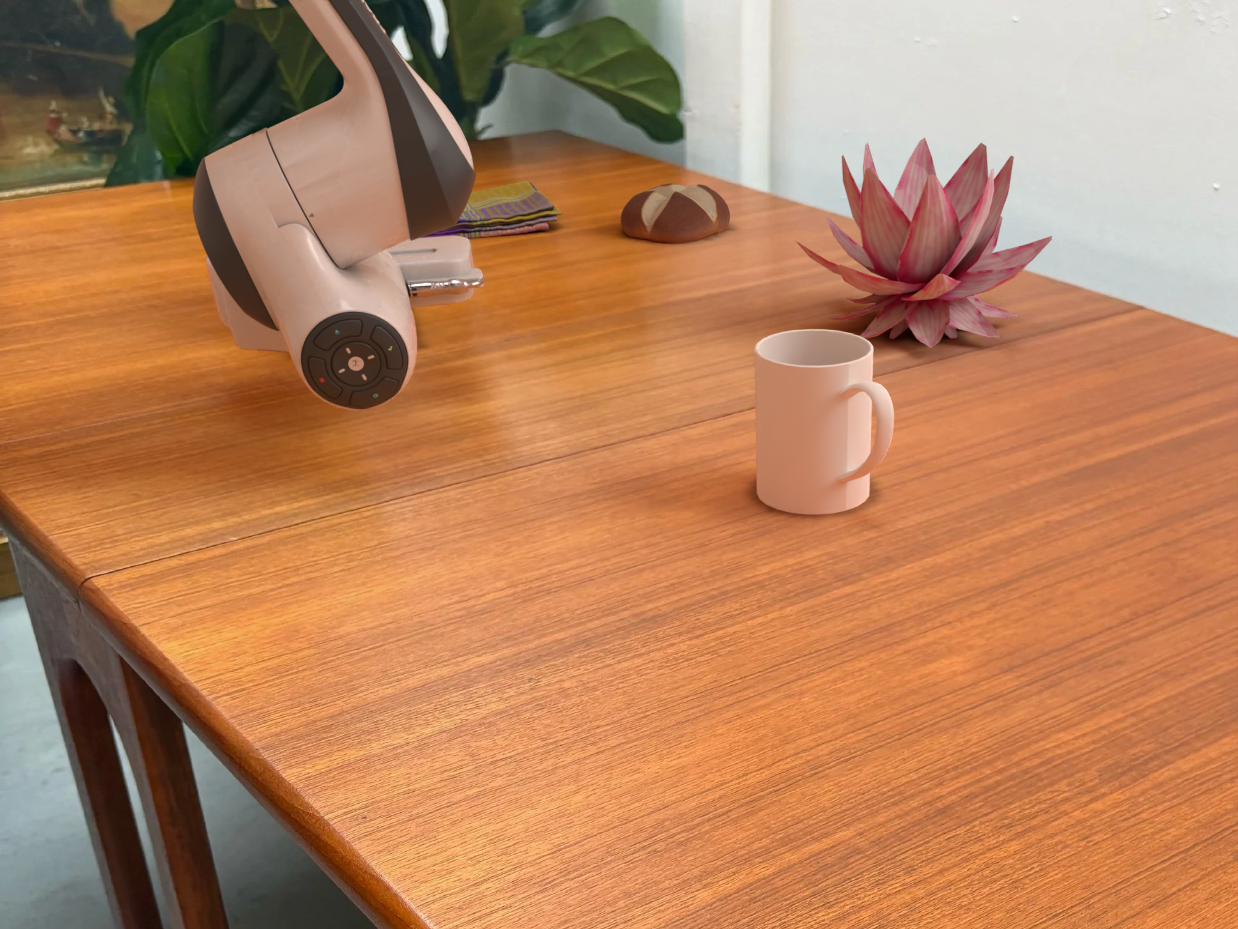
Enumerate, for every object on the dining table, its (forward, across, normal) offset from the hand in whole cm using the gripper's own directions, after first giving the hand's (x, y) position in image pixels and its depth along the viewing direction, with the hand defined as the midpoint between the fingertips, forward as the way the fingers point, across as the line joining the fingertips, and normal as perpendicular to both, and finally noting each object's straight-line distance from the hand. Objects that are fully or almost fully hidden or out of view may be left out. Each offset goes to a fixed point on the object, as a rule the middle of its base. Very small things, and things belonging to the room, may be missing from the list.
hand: (341, 250), depth 123 cm
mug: (-40, -30, +10) cm, 51 cm away
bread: (+36, -35, +10) cm, 51 cm away
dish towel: (+47, -11, +10) cm, 49 cm away
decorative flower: (-5, -49, +10) cm, 50 cm away
